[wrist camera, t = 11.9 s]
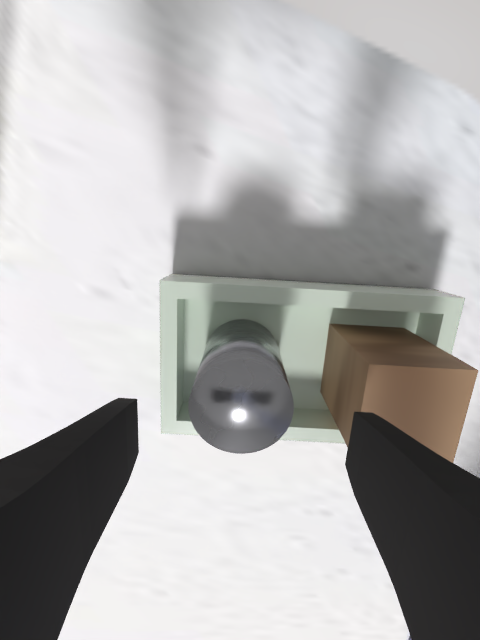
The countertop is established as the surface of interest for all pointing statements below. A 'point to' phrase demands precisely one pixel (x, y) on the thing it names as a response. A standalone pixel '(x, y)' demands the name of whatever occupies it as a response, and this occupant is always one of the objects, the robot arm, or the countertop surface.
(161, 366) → the tray
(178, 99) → the countertop surface
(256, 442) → the steel cylinder
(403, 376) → the walnut block
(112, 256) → the countertop surface
